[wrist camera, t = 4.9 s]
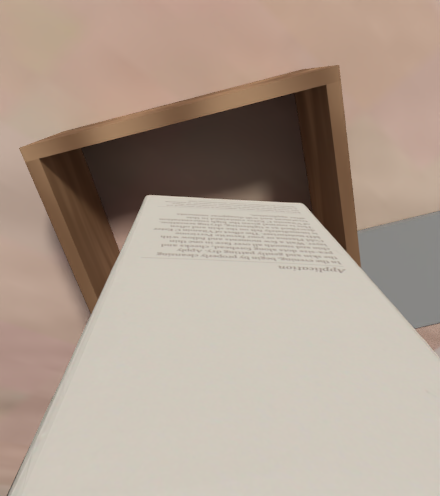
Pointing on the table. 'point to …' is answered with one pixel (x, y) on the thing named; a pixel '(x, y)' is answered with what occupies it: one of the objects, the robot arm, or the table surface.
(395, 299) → the pad
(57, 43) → the table surface
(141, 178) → the table surface
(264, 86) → the wooden cubby frame
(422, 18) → the table surface
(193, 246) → the small box
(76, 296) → the table surface
